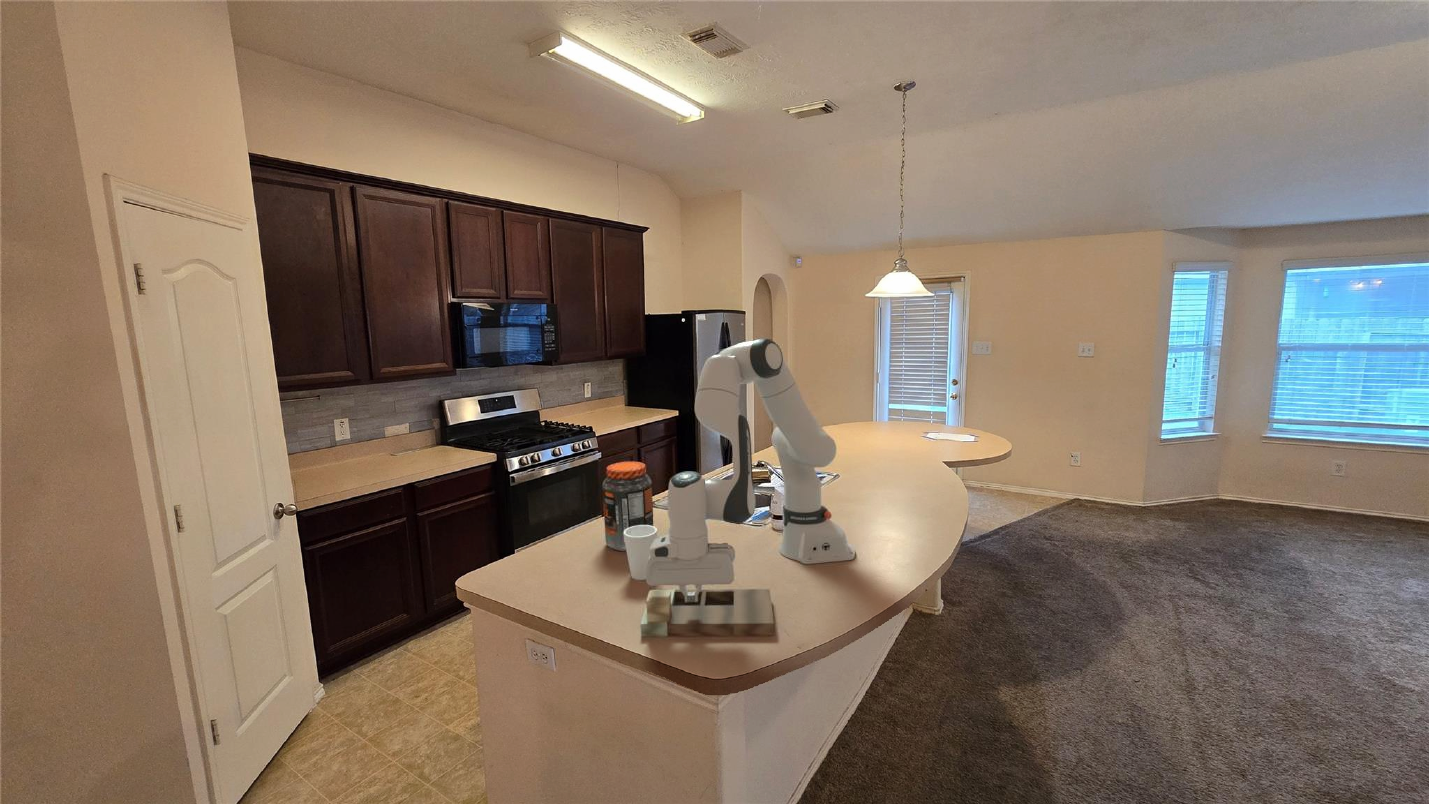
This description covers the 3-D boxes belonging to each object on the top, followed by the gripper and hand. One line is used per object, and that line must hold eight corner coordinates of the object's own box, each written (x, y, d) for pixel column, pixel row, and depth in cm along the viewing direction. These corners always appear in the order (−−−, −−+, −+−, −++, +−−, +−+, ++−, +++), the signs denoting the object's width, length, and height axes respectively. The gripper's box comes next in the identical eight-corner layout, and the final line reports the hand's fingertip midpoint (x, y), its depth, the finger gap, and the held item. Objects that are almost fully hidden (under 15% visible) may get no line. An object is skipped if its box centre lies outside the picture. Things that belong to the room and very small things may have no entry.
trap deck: (769, 600, 138) (769, 589, 138) (774, 635, 122) (773, 623, 122) (651, 601, 139) (651, 590, 139) (641, 636, 123) (640, 624, 123)
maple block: (671, 610, 129) (670, 590, 128) (669, 621, 124) (668, 600, 123) (650, 610, 129) (649, 590, 128) (647, 622, 124) (646, 601, 123)
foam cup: (665, 571, 156) (663, 528, 154) (645, 585, 148) (643, 539, 146) (639, 565, 161) (637, 523, 159) (618, 578, 153) (616, 533, 151)
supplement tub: (608, 535, 185) (604, 461, 181) (655, 533, 186) (651, 458, 182) (602, 554, 169) (597, 473, 166) (653, 551, 170) (649, 471, 167)
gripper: (734, 537, 127) (736, 593, 129) (647, 539, 128) (650, 594, 130) (734, 548, 121) (736, 607, 123) (642, 550, 121) (646, 608, 123)
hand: (691, 600), depth 126 cm, fingers closed
